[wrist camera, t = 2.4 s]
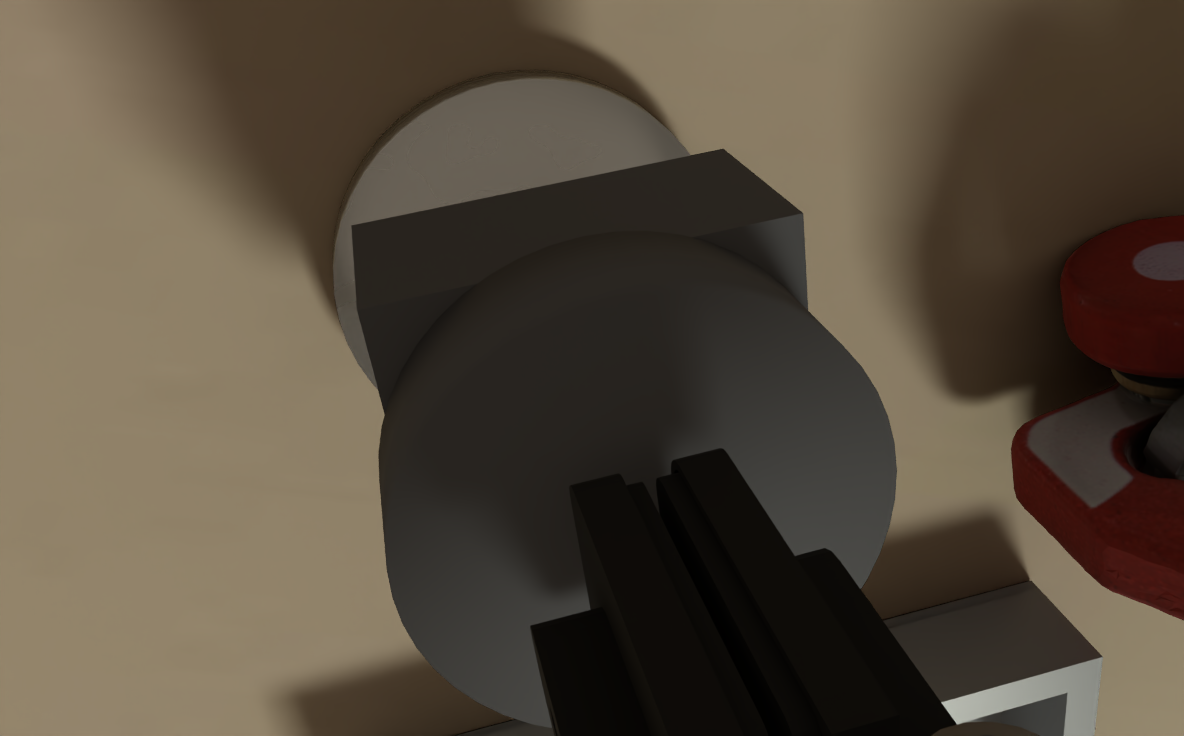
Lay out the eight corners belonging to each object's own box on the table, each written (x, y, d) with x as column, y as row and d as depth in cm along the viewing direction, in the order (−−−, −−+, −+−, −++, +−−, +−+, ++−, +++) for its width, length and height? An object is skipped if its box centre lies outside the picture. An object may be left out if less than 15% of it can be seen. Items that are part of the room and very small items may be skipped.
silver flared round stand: (689, 36, 19) (793, 95, 15) (722, 384, 22) (815, 514, 18) (286, 113, 18) (274, 199, 14) (382, 463, 21) (397, 620, 17)
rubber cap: (741, 124, 16) (895, 233, 11) (767, 470, 18) (898, 660, 14) (323, 209, 15) (324, 359, 11) (417, 557, 18) (447, 785, 13)
